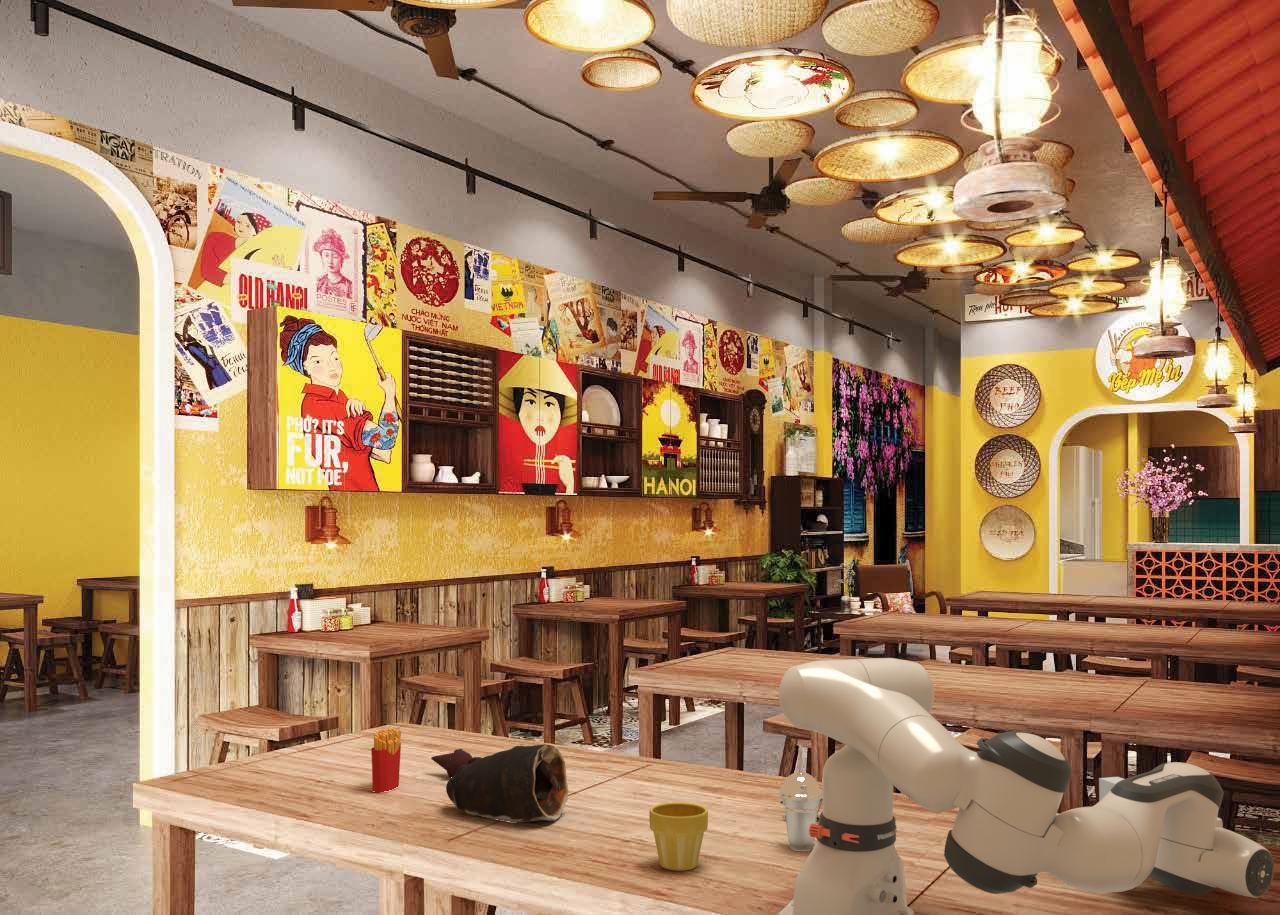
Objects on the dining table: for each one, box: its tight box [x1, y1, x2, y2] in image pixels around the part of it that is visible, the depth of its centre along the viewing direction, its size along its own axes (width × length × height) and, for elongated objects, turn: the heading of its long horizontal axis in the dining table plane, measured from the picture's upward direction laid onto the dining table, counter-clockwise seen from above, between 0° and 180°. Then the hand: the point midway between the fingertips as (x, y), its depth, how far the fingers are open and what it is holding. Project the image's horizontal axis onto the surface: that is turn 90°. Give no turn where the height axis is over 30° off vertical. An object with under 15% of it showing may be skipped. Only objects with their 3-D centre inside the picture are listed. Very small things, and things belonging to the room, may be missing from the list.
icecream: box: [431, 748, 483, 779], centre depth 250 cm, size 7×7×15 cm
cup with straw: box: [777, 743, 822, 853], centre depth 199 cm, size 8×9×20 cm
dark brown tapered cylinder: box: [445, 743, 569, 823], centre depth 220 cm, size 15×15×25 cm
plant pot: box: [649, 801, 709, 872], centre depth 189 cm, size 10×10×10 cm
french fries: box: [370, 727, 402, 793], centre depth 240 cm, size 9×4×13 cm, turn 160°
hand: (1119, 818), depth 186 cm, fingers open, 8 cm apart
